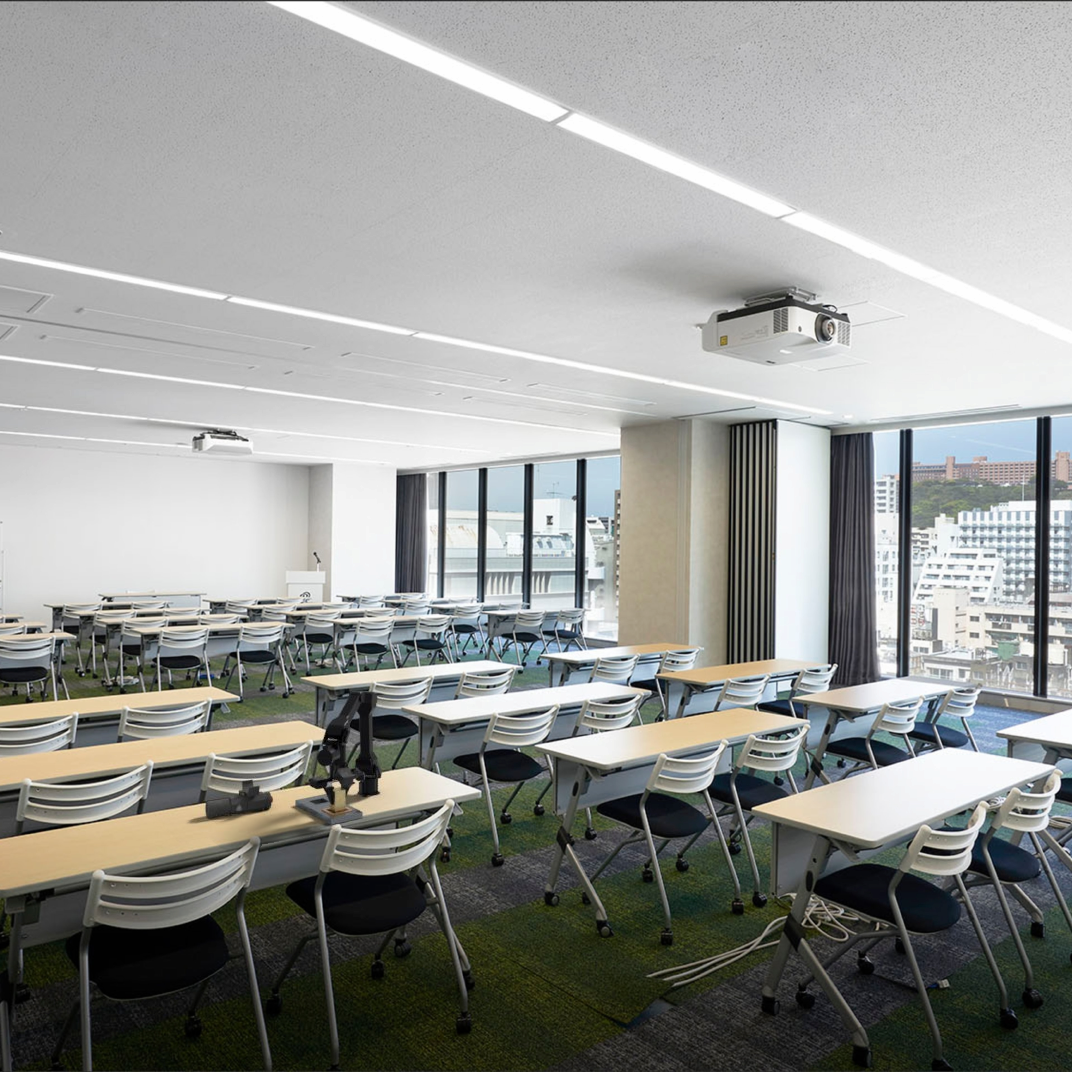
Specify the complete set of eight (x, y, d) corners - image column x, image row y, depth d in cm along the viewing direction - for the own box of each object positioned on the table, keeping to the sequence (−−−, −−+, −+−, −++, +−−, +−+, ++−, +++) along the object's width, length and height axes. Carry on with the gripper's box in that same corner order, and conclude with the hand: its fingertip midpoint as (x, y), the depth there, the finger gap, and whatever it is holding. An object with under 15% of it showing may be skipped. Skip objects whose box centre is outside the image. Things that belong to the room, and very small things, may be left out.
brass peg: (340, 809, 300) (340, 787, 300) (345, 812, 297) (345, 789, 297) (329, 811, 297) (329, 789, 297) (334, 814, 294) (335, 791, 294)
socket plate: (325, 799, 317) (325, 793, 317) (362, 817, 295) (362, 811, 296) (295, 805, 309) (295, 799, 309) (331, 825, 288) (331, 818, 288)
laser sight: (203, 815, 299) (204, 786, 299) (268, 804, 311) (268, 777, 311) (210, 822, 291) (210, 793, 291) (275, 811, 303) (275, 783, 303)
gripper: (323, 768, 285) (323, 814, 285) (372, 759, 297) (372, 803, 297) (309, 761, 293) (308, 806, 293) (357, 753, 306) (357, 796, 305)
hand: (337, 803), depth 297 cm, fingers closed on brass peg, 4 cm apart
